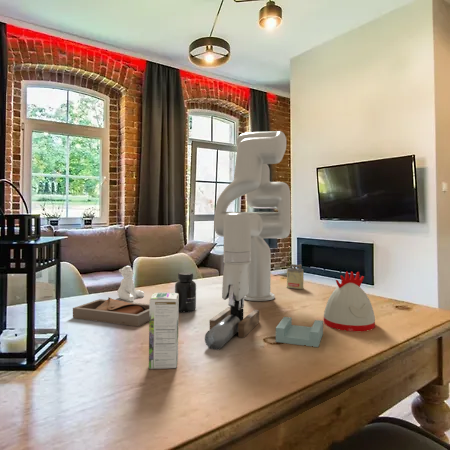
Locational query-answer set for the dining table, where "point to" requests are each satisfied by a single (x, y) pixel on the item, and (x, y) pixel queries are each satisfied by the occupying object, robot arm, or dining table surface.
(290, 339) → the cradle
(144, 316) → the valet tray rim
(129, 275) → the white creature statuette
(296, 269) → the jerry can
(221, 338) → the grey cylinder
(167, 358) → the syrup box
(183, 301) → the supplement bottle
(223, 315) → the wooden blocks
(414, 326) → the dining table surface
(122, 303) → the sunglasses case
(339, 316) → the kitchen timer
